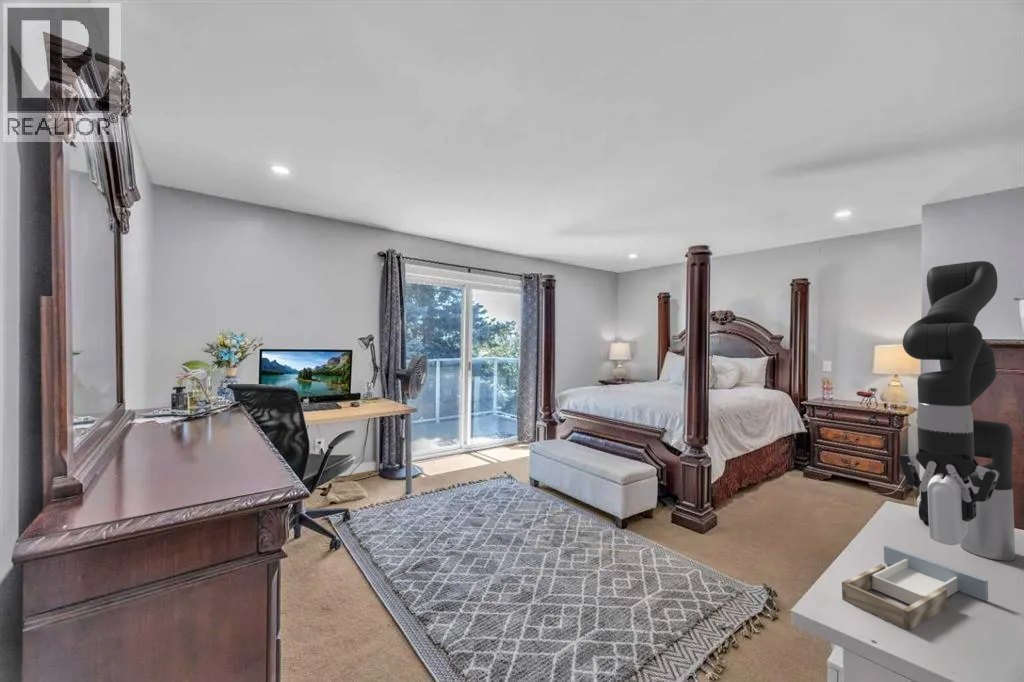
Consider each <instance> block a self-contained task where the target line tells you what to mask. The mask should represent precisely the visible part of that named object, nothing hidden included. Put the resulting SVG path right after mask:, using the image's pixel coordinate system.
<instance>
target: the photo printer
mask: <svg viewBox="0 0 1024 682" xmlns="http://www.w3.org/2000/svg"><path fill="white" fill-rule="evenodd" d="M962 501H963V499H962V497H961V489H960V487H959V485H958V483H957V482H956V481H955V480H954V479H953V478H951V476H950V475H946V476H945V477H944V474H942V473H939V474H936V475H934V476H933V477H932V478H931V480H930V481H929V483H928V514H929V524H928V532H929V538H930V539H931V540H933V541H934V542H936V543H940V544H942V545H947V546H954V545H955V546H957V545H960V543H961V542H962V540H963V539H964V538H965V537H966V536H967V534H968V522H967V521H963V520H962Z"/></svg>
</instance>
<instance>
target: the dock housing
mask: <svg viewBox="0 0 1024 682" xmlns="http://www.w3.org/2000/svg"><path fill="white" fill-rule="evenodd" d="M885 568H886V566H885V564H879V565H877V566H874V567H872V568H869V569H868V570H865V571H863V572H861V573H859V574H857V575H854V576H853V577H850V578H849V579H846V580H844V581H841V595H842V596H841V597H842V598H841V599H842V600H843V601H846V602H848V603H850V604H852V605H854V606H856V607H858V608H860V609H863V611H867V612H868V613H871V614H873V615H875V616H877V617H879V616H880V617H879V618H881V617H883V618H884V620H885V619H886V620H885V621H888V622H890V623H892V622H893V624H894V623H895V624H894V625H896V626H898V625H899V626H898V627H901V628H902V629H904V630H907V631H911V630H912V629H915V628H916V627H917V626H918V625H921V624H923V622H925V621H926V620H928V619H930V618H932V617H933V616H935V615H936V614H938V613H939V612H941V611H943V610H944V609H946V608H947V607H948V597H947V589H945V588H942V587H941V588H939V589H938V590H936V591H934V592H932V593H931V594H929V595H927V596H926V597H924V598H922V599H920V600H919V601H917V602H915V603H913V604H912V605H910V604H909V605H908V606H906V607H903V606H901V605H898V604H895V603H894V602H893V601H892V602H891V601H889V600H887V599H885V598H882V597H880V596H877V595H875V594H873V593H871V592H869V590H871V589H873V588H872V577H871V575H873V574H875V573H877V572H879V571H881V570H883V569H885ZM883 618H882V619H883Z"/></svg>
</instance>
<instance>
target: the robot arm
mask: <svg viewBox="0 0 1024 682" xmlns="http://www.w3.org/2000/svg"><path fill="white" fill-rule="evenodd" d="M926 288H927V289H926V291H927V293H928V300H929V303H930V309H928V312H927V314H926V315H925V316H923V317H922V318H920V319H918V320H917V321H915V322H913V323H912V324H911V325H910V326H909V327H908V329H906V331H905V333H904V335H903V338H902V347H903V350H904V352H905V353H906V354H907V355H908V356H909V357H911V358H913V359H915V360H922V361H926V360H927V361H939V366H940V370H939V371H931V372H930V371H929V372H924V373H920V374H919V375H918V376H917V383H916V385H917V410H916V411H917V412H916V421H915V422H916V427H917V448H918V451H917V453H916V454H907V453H906V454H901V455H900V456H899V457H898V460H899V463H900V466H901V469H902V472H903V474H904V477H905V481H906V482H907V485H908V486H911V487H914V488H915V489H916V488H917V490H919V491H920V501H921V505H922V507H925V510H926V511H928V483H929V481H930V480H931V478H932V477H933V476H934V475H936V474H939V473H942V474H944V477H945V476H946V475H950V476H951V478H953V479H954V480H955V481H956V482H957V483H958V485H959V487H960V489H961V497H962V499H963V501H962V520H963V521H967V522H968V534H967V536H966V537H965V538H964V539H963V540H962V542H961V543H959V545H960V547H961V548H962V549H963V550H965V551H967V552H968V553H970V554H974V555H976V556H980V557H981V558H986V559H991V560H996V561H1005V562H1006V561H1009V562H1010V561H1014V560H1016V544H1015V543H1016V541H1015V540H1016V537H1015V535H1016V534H1015V512H1014V509H1015V507H1014V489H1013V488H1014V487H1013V486H1014V485H1013V465H1012V463H1013V447H1014V443H1013V442H1014V437H1013V430H1012V429H1011V427H1010V426H1009V424H1007V423H1004V422H999V421H992V420H991V421H990V420H989V421H988V420H979V419H974V416H973V412H972V405H973V403H974V402H975V401H976V400H977V399H978V398H979V397H980V396H981V395H982V394H984V393H985V392H986V391H987V389H988V388H990V386H992V384H993V382H994V381H995V379H996V377H997V368H996V367H997V366H996V360H995V359H996V358H995V353H994V349H993V348H992V347H991V346H990V344H989V343H988V342H987V341H986V340H985V339H983V334H982V332H981V330H980V329H979V328H978V327H977V326H975V322H976V320H977V316H978V315H979V313H980V312H981V310H983V309H984V308H985V307H986V306H987V304H989V303H990V302H991V300H992V299H993V298H994V296H995V294H996V293H997V290H998V273H997V270H996V267H995V265H994V264H993V263H991V262H989V261H984V260H979V261H978V260H976V261H966V262H958V263H952V264H946V265H945V264H944V265H943V264H942V265H938V266H937V265H936V266H933V267H931V268H930V269H929V270H928V271H927V275H926ZM975 457H978V458H985V459H991V462H990V463H987V464H984V465H979V463H978V462H977V460H976V459H975ZM917 462H918V463H919V464H920V465H921V466H922V468H923V469H924V473H923V475H922V477H921V478H920V475H919V473H918V470H917V468H916V465H918V463H917Z"/></svg>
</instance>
